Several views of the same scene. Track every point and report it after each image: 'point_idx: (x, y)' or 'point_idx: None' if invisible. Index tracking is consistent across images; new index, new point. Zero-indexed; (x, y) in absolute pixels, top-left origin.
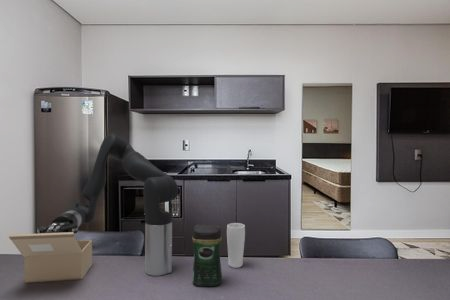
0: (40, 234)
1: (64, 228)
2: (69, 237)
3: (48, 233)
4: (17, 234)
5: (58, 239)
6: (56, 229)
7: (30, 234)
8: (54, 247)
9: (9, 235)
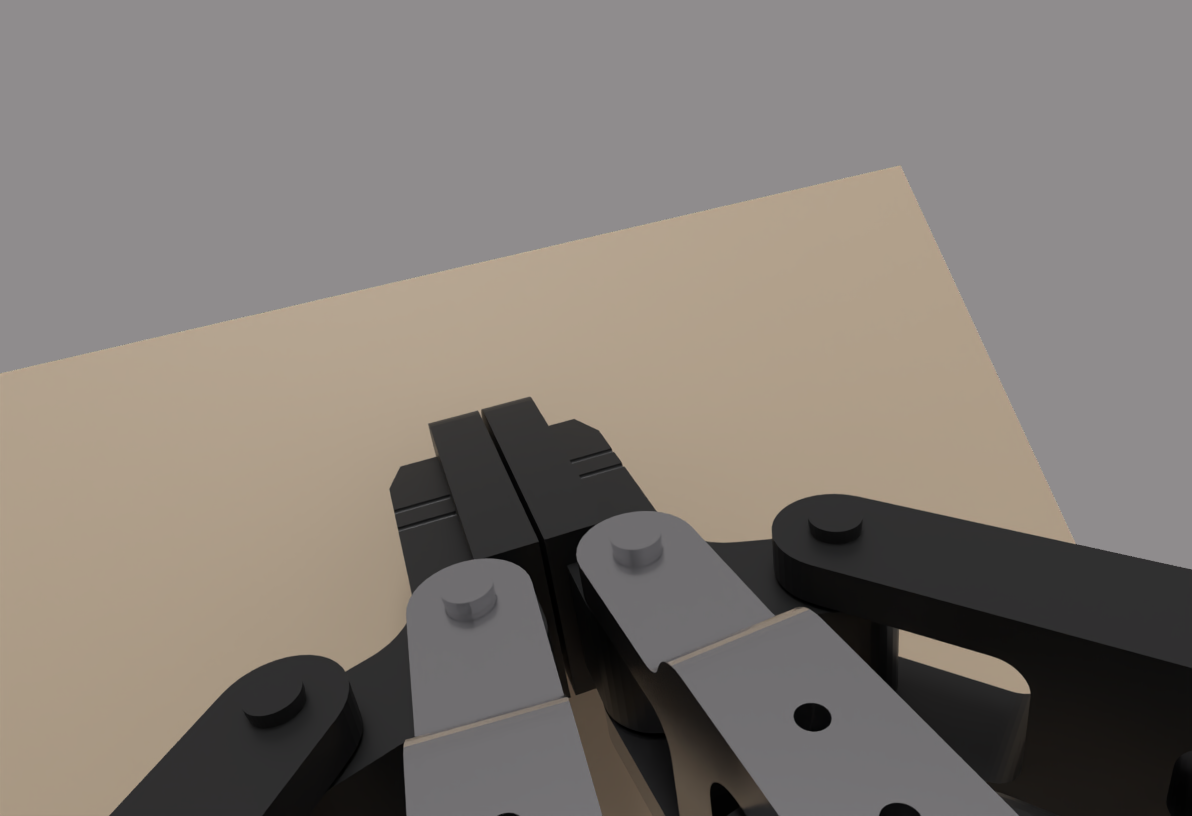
0: (448, 280)
1: (192, 774)
2: None
3: (316, 304)
4: (794, 191)
5: (216, 519)
6: (435, 625)
7: (605, 240)
8: None
9: (889, 175)
